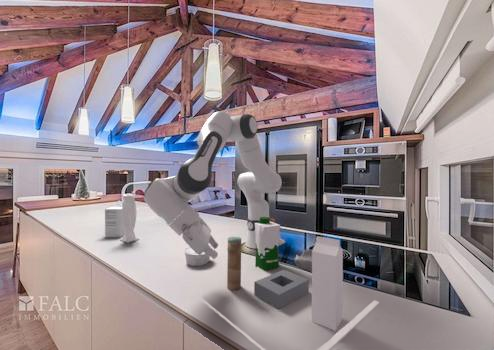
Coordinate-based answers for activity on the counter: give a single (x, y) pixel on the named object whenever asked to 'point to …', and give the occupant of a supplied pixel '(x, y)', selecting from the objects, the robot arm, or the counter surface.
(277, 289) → the socket block
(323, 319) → the milk
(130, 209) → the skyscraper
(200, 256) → the ramekin
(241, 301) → the counter surface
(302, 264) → the dish
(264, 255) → the milk carton
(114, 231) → the supplement box
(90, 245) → the counter surface
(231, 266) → the peg
